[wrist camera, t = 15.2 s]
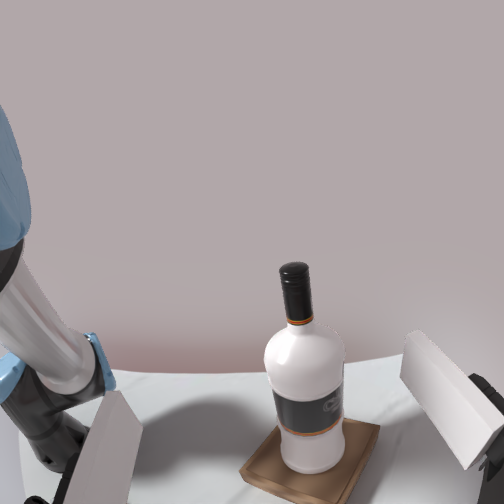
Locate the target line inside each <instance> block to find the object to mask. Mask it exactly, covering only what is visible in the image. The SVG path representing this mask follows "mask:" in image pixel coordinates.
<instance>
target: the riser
mask: <svg viewBox="0 0 504 504" xmlns="http://www.w3.org/2000/svg"><path fill="white" fill-rule="evenodd" d="M379 429H380V425H375V424H370V423H365V422H360V421H355V420H351V419H346V418H344V419H343V422H342V432H343V435H344V439H345V450H344V454H343V456H342V458H341V459H340V461H339V462H338V463H337V464H336V465H335V466H333V467H332V468H330V469H328V470H327V471H324V472H321V473H317V474H303V473H299V472H296V471H294V470H292V469H291V468H289V467H288V466H287V465H286V464H285V462H284V461H283V459H282V455H281V442H282V438H281V430H280V428H279V426H278V425H277V426H276V427H275V429H274V430H273V431H272V432H271V434H270V435H269V436H268V437H267V439H266V440H265V441H264V442H263V443H262V445H261V446H260V447H259V448H258V449H257V451H256V452H255V453H254V454H253V455H252V456H251V458H250V459H249V460H248V461H247V462H246V463H245V464H244V466H243V467H242V468H241V469H240V470H239V473H240V474H241V476H242V478H243V480H244V481H245V482H247V483H249V484H251V485H253V486H255V487H258V488H260V489H262V490H264V491H266V492H269V493H271V494H273V495H276V496H278V497H280V498H283V499H285V500H288V501H290V502H293V503H296V504H345V503H346V501H347V499H348V498H349V496H350V494H351V492H352V490H353V489H354V487H355V485H356V483H357V481H358V479H359V477H360V475H361V473H362V471H363V469H364V467H365V465H366V463H367V461H368V459H369V456H370V454H371V452H372V450H373V447H374V445H375V443H376V440H377V438H378V434H379Z"/></svg>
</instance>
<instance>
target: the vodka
mask: <svg viewBox="0 0 504 504" xmlns="http://www.w3.org/2000/svg"><path fill="white" fill-rule="evenodd" d="M308 269H309V267H308V265H307V264H305V263H303V262H291V263H287V264H285V265H283V266H282V267H281V268H280V269H279V273H280V277H281V283H282V290H283V297H284V304H285V310H286V317H287V322H288V323H287V324H288V327H286V328H284V329H282V330H281V331H279V332H278V333H276V334H275V335H274V336H273V337H272V338H271V339H270V341H269V343H268V344H267V346H266V349H265V356H264V363H265V367H266V370H267V373H268V381H269V384H270V386H271V388H272V391H273V396H274V401H275V405H276V410H277V424H278V426H279V428H280V430H281V438H282V442H281V455H282V459H283V461H284V462H285V464H286V465H287V466H288V467H289V468H291V469H292V470H294V471H296V472H299V473H303V474H317V473H321V472H324V471H327V470H328V469H330V468H332V467H333V466H335V465H336V464H337V463H338V462H339V461H340V459H341V458H342V456H343V454H344V450H345V439H344V435H343V432H342V422H343V419H344V409H343V387H344V358H345V352H346V350H345V346H344V343H343V341H342V339H341V337H340V336H339V334H337V333H336V332H335V331H334V330H333V329H332V328H330V327H328V326H326V325H322V324H318V323H315V319H314V316H313V305H312V296H311V288H310V277H309V270H308Z"/></svg>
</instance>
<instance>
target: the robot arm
mask: <svg viewBox="0 0 504 504" xmlns="http://www.w3.org/2000/svg"><path fill="white" fill-rule="evenodd" d="M30 224H31V205H30V198H29V192H28V186H27V182H26V178H25V175H24V173H23V170H22V161H21V157H20V154H19V150H18V147H17V144H16V141H15V138H14V135H13V132H12V129H11V126H10V124H9V122H8V119H7V117H6V115H5V113H4V111H3V109H2V107H1V105H0V344H1V345H2V346H4V347H5V348H6V349H7V350H9V351H10V352H9V353H7V354H6V355H4V356H3V357H2V358H1V359H0V405H1V407H2V408H3V409H4V411H5V412H6V413H7V415H8V416H9V417H10V418H11V420H12V421H13V422H14V423H15V425H16V426H17V427H18V428H19V429H20V431H21V432H22V433H23V434H24V435H25V436H26V438H27V439H28V441H29V443H30V445H31V447H32V449H33V451H34V453H35V455H36V457H37V458H38V460H39V461H40V462H41V463H42V464H43V465H44V466H45V467H46V468H48V469H49V470H51V471H55V472H63V475H62V478H61V480H60V483H59V486H58V488H57V491H56V494H55V497H54V500H53V503H52V504H127V499H128V494H129V489H130V484H131V480H132V475H133V470H134V466H135V461H136V457H137V453H138V448H139V444H140V440H141V436H142V432H143V426H142V425H141V423H140V422H139V420H138V419H137V417H136V416H135V414H134V413H133V411H132V410H131V408H130V406H129V405H128V403H127V402H126V400H125V398H124V397H123V395H122V393H121V392H120V391H113V390H114V389H115V388H116V381H115V378H114V376H113V374H112V371H111V369H110V366H109V364H108V361H107V359H106V356H105V354H104V351H103V349H102V347H101V344H100V342H99V340H98V337H97V336H96V334H95V333H93V332H90V333H84V334H81V333H80V332H78V331H76V330H74V329H71V328H67V326H66V325H65V324H64V322H63V321H62V320H61V318H60V317H59V315H58V314H57V312H56V311H55V310H54V308H53V307H52V305H51V304H50V303H49V301H48V299H47V298H46V296H45V295H44V293H43V292H42V290H41V289H40V287H39V285H38V284H37V282H36V281H35V279H34V277H33V276H32V274H31V272H30V271H29V269H28V267H27V265H26V264H25V262H24V260H23V258H22V256H23V252H24V245H25V235H26V234H27V232H28V229H29V227H30ZM400 378H401V380H402V381H403V382H404V384H405V385H406V386H407V388H408V389H409V390H410V392H411V393H412V395H413V396H414V397H415V399H416V400H417V401H418V403H419V404H420V406H421V407H422V408H423V410H424V411H425V413H426V414H427V415H428V417H429V418H430V420H431V421H432V422H433V424H434V425H435V427H436V428H437V430H438V431H439V432H440V434H441V435H442V437H443V438H444V440H445V441H446V443H447V444H448V446H449V447H450V448H451V450H452V451H453V453H454V454H455V456H456V457H457V459H458V460H459V462H460V463H461V465H462V466H463V468H464V470H465V471H466V470H467V469H469V468H470V467H471V466H473V465H474V464H476V463H477V462H478V461H480V459H481V458H482V457H483V455H484V454H486V455H487V458H486V460H485V461H484V462H483V463H482V465H481V466H480V468H479V470H478V471H481V470H482V469H483V467H484V466H485V469H484V475H483V480H482V485H481V490H480V495H479V499H478V503H477V504H504V398H503V397H502V396H501V395H500V394H499V393H498V392H496V390H495V389H494V388H493V387H491V385H490V384H489V383H488V382H487V381H486V380H485V379H484V378H483V377H481V376H479V375H476V374H475V373H473V374H472V375H470V376H468V377H467V376H466V375H465V374H464V373H463V372H462V371H461V370H460V369H459V368H458V367H457V366H456V365H455V364H454V363H453V362H452V361H451V360H450V359H449V358H448V357H447V356H446V355H445V354H444V353H443V352H442V351H441V350H440V349H439V348H438V347H437V346H436V345H435V344H434V343H433V342H432V341H431V340H430V339H429V338H428V337H427V336H426V335H424V333H422V331H421V330H419V329H418V330H415V331H413V332H410V333H408V334H406V338H405V346H404V353H403V360H402V366H401V372H400ZM101 396H104V398H103V400H102V402H101V404H100V407H99V409H98V411H97V414H96V416H95V419H94V421H93V423H92V426H91V428H90V431H89V432H88V431H87V430H86V428H85V427H84V426H83V425H82V424H81V423H80V422H79V421H78V420H76V419H75V418H73V417H72V416H70V415H69V414H68V413H66V412H65V411H64V410H66V409H69V408H72V407H74V406H77V405H80V404H83V403H85V402H88V401H90V400H93V399H96V398H98V397H101ZM24 504H49V503H48V502H46V501H45V500H44V499H42V498H41V497H39V496H31V497H29V498H28V499H27V500H26V501H25V502H24Z"/></svg>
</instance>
